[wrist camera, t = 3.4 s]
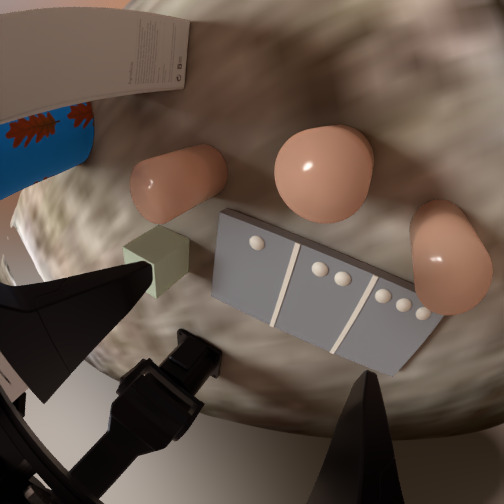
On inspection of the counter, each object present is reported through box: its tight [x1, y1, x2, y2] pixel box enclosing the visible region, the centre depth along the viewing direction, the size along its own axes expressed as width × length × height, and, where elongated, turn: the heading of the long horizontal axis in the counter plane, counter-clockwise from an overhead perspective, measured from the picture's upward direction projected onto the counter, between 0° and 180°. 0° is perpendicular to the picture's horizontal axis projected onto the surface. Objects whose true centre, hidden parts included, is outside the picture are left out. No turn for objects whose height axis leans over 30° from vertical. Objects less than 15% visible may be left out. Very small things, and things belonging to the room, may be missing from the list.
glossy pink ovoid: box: [130, 144, 228, 224], centre depth 19 cm, size 4×4×6 cm
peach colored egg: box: [410, 199, 493, 315], centre depth 13 cm, size 4×4×6 cm
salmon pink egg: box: [274, 124, 374, 223], centre depth 14 cm, size 4×4×6 cm
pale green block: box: [123, 225, 190, 299], centre depth 26 cm, size 4×4×5 cm
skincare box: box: [0, 7, 190, 125], centre depth 12 cm, size 8×7×16 cm
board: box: [211, 208, 444, 377], centre depth 22 cm, size 9×19×1 cm, turn 80°
